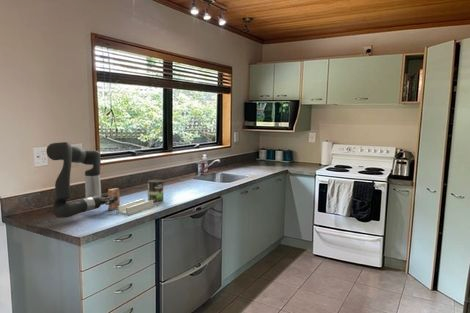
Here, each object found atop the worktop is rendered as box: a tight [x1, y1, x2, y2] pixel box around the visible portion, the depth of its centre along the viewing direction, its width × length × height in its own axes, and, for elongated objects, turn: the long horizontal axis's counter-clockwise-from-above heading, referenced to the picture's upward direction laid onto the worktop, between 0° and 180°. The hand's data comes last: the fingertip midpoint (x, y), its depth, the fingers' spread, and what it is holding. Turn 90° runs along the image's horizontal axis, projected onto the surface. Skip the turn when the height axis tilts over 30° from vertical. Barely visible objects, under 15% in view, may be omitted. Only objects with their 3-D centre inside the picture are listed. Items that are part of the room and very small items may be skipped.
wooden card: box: [107, 187, 121, 211], centre depth 209 cm, size 6×3×12 cm, turn 153°
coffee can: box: [147, 178, 164, 205], centre depth 226 cm, size 10×10×14 cm
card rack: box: [115, 198, 156, 216], centre depth 208 cm, size 22×10×4 cm, turn 153°
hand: (112, 197), depth 208 cm, fingers open, 8 cm apart
